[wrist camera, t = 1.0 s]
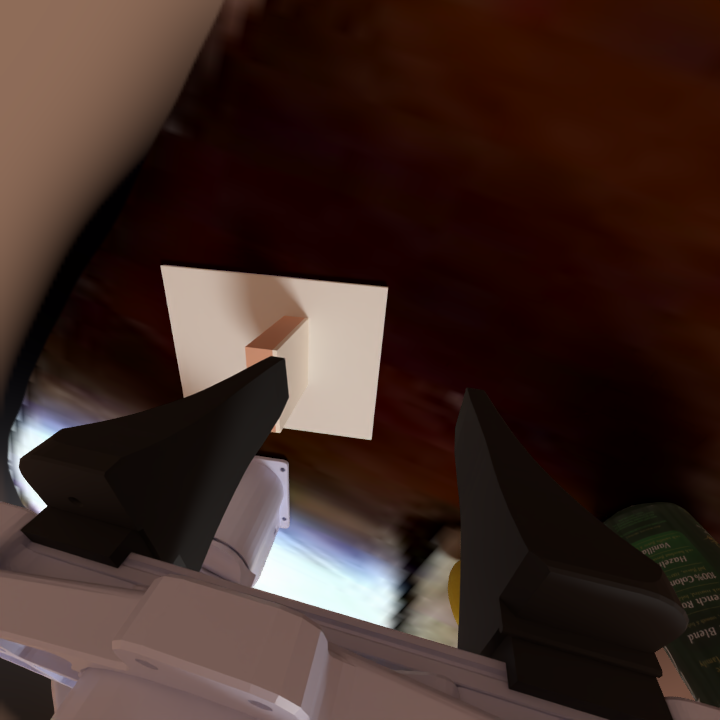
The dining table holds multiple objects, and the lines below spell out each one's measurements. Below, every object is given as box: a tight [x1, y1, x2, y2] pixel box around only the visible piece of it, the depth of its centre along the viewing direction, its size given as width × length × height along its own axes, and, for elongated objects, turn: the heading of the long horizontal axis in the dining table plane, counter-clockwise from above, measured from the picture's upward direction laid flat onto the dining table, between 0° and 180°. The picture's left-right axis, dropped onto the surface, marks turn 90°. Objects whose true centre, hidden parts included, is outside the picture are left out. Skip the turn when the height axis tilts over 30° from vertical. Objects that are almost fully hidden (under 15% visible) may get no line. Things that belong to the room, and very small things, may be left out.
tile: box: [245, 316, 309, 433], centre depth 23 cm, size 6×2×7 cm, turn 176°
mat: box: [161, 265, 388, 440], centre depth 27 cm, size 14×18×1 cm
